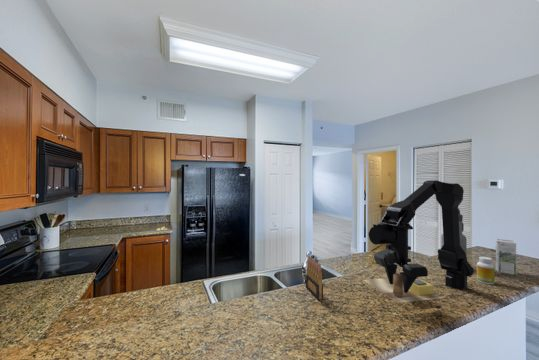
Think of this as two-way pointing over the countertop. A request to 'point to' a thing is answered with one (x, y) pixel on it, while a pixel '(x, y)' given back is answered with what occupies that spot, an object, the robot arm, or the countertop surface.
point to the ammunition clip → (314, 279)
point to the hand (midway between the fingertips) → (398, 288)
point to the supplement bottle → (485, 271)
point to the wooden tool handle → (397, 285)
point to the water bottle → (462, 238)
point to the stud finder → (421, 287)
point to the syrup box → (506, 256)
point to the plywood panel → (387, 289)
